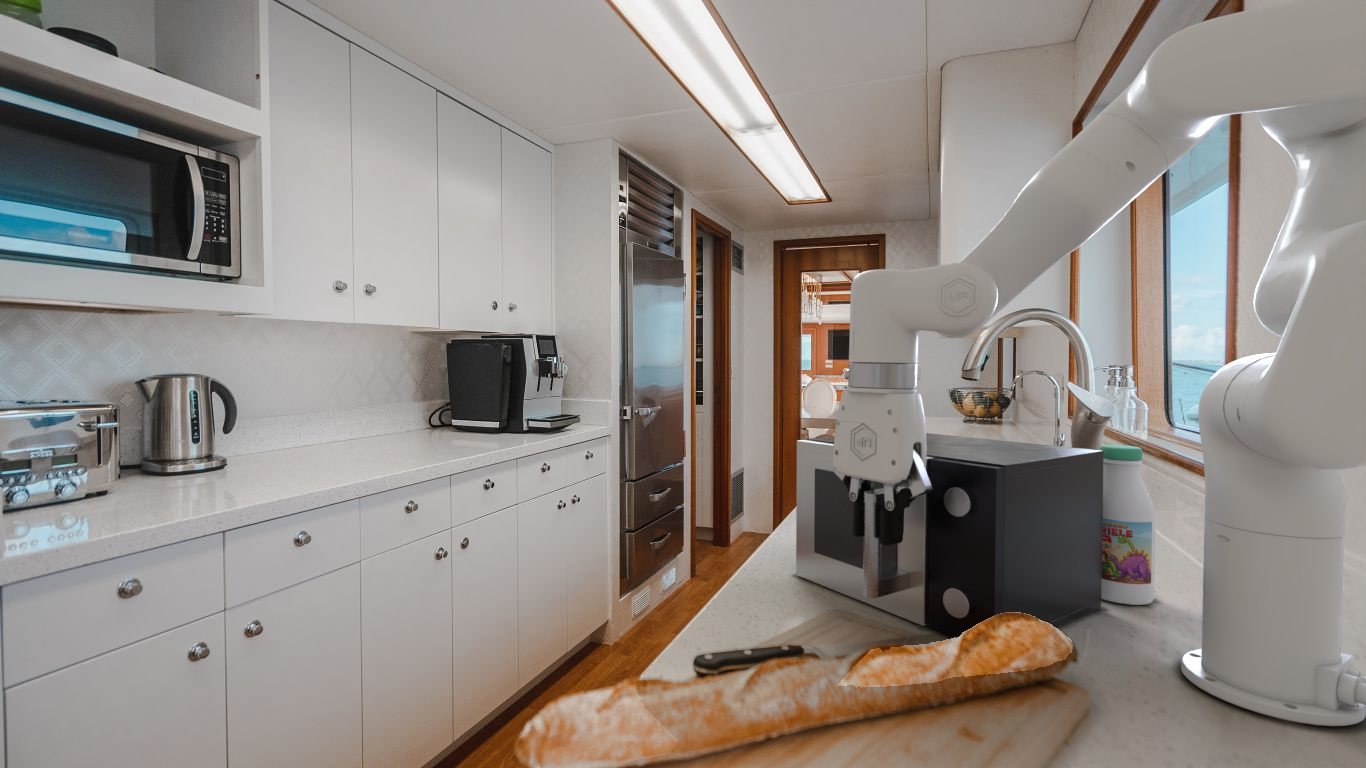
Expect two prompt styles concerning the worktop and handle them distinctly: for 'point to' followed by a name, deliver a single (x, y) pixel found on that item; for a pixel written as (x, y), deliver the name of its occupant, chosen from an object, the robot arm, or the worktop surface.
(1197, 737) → the worktop surface
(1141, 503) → the milk bottle
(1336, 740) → the worktop surface
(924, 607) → the microwave door
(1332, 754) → the worktop surface
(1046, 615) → the microwave
